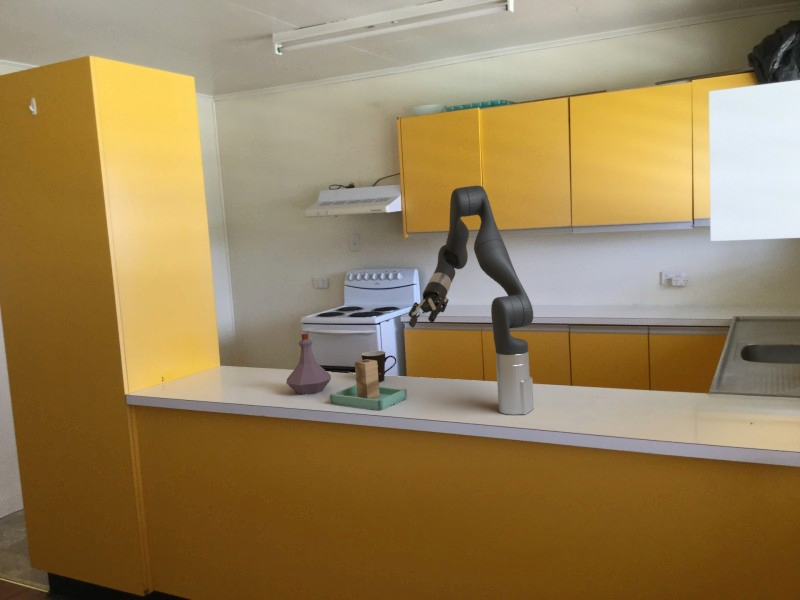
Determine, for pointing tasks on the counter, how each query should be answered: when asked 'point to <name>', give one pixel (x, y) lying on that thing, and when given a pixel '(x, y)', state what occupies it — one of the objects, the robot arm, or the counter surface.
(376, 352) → the coffee mug
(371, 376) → the tan wooden tall block
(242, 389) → the counter surface
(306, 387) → the flask
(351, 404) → the green tray
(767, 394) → the counter surface
